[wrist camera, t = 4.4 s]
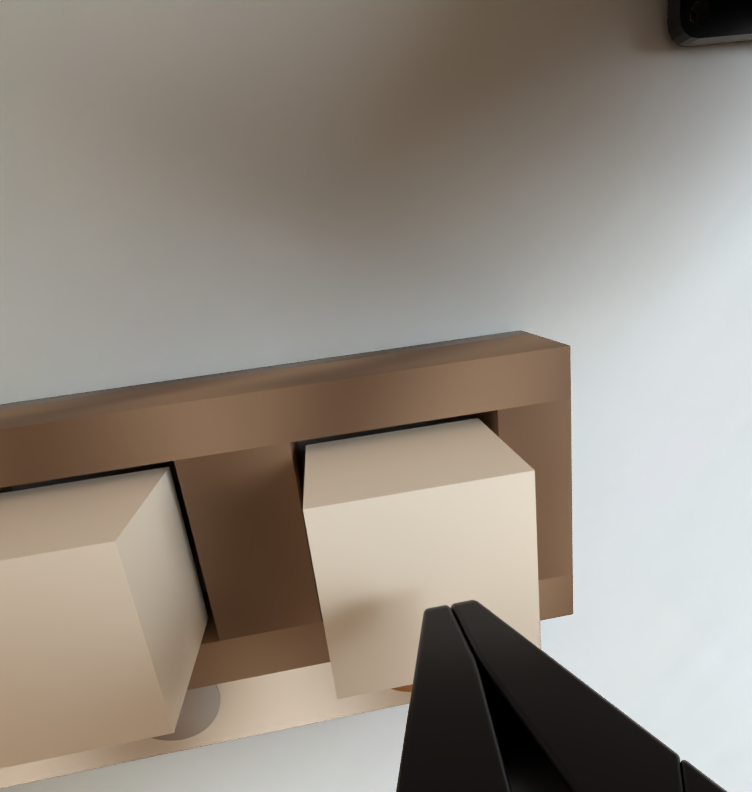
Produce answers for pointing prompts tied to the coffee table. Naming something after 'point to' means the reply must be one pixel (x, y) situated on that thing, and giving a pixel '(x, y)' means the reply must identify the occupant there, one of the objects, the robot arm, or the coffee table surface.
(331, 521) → the button
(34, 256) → the coffee table surface
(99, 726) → the button middle
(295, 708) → the button board
